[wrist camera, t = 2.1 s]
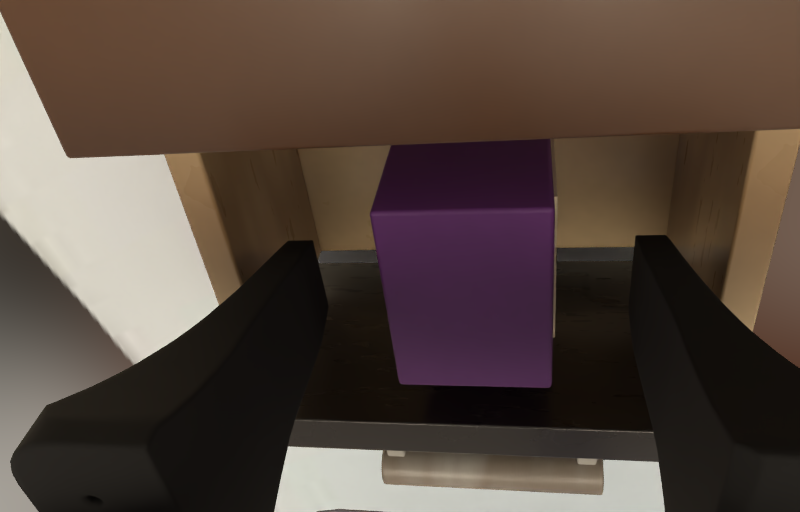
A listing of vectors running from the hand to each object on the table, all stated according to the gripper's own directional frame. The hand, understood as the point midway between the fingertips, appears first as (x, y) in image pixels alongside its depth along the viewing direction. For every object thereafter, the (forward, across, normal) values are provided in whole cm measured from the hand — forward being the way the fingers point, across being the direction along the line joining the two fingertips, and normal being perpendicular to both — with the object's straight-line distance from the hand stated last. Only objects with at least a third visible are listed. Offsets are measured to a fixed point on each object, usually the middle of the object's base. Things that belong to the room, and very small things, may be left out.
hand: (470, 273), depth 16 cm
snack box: (+5, 0, 0) cm, 5 cm away
